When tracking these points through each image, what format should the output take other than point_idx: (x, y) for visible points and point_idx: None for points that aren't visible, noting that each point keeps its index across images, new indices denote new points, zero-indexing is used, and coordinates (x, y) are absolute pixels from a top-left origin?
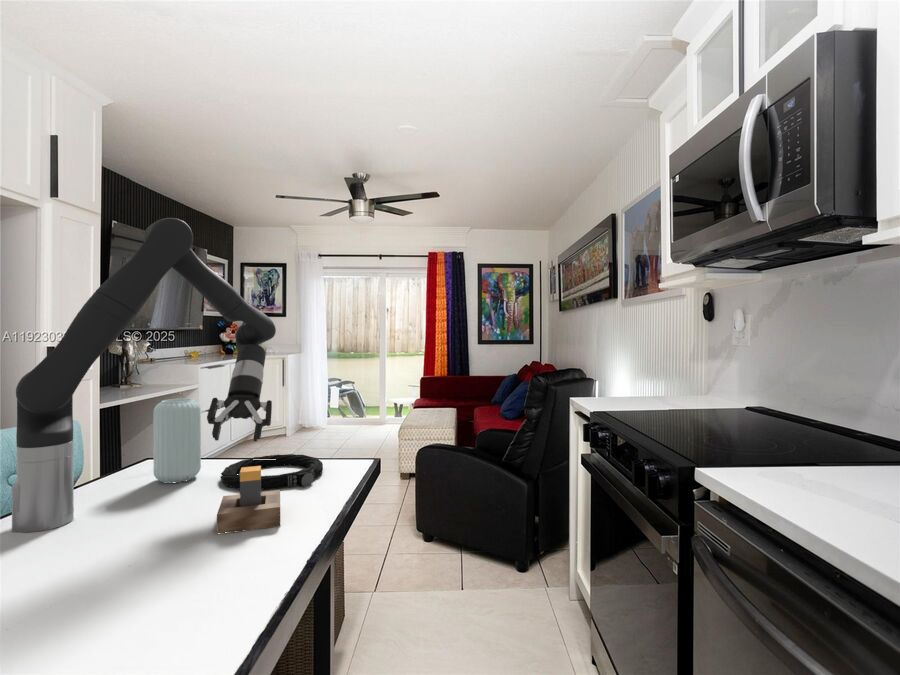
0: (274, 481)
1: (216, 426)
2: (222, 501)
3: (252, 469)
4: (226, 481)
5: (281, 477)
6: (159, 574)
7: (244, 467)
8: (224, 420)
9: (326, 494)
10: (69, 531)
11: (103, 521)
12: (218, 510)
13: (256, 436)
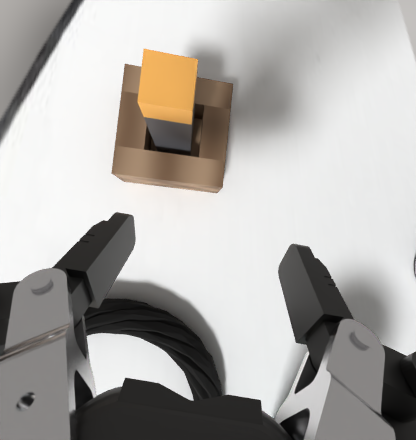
0: (115, 303)
1: (330, 291)
2: (224, 153)
3: (164, 70)
4: (211, 361)
5: (95, 311)
6: (285, 13)
7: (184, 107)
8: (300, 390)
9: (23, 215)
10: (405, 220)
11: (375, 243)
12: (230, 104)
13: (116, 214)
